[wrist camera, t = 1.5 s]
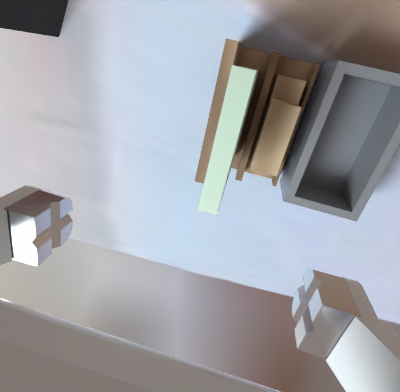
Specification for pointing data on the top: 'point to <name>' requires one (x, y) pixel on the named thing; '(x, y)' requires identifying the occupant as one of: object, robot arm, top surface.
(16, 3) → the cleaning product box
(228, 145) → the sheet
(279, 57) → the rack
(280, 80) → the offcut lower
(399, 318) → the top surface
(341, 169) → the bin
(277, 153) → the offcut upper
